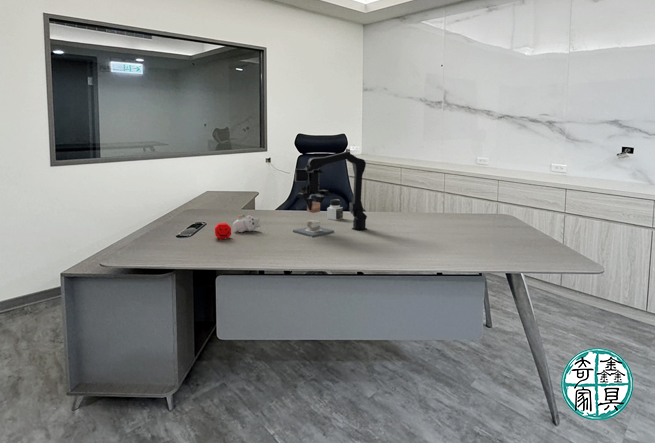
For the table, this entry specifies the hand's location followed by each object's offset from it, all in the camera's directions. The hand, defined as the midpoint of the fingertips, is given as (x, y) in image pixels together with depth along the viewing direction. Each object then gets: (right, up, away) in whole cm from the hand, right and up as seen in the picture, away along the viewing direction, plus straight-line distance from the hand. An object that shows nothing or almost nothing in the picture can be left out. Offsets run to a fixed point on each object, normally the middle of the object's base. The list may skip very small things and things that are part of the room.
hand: (313, 209), depth 270 cm
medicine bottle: (+12, -5, +37) cm, 39 cm away
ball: (-46, -15, -14) cm, 51 cm away
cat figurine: (-37, -12, +2) cm, 39 cm away
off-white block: (0, -11, +1) cm, 11 cm away
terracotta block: (0, -1, 0) cm, 1 cm away
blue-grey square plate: (0, -12, +1) cm, 12 cm away
